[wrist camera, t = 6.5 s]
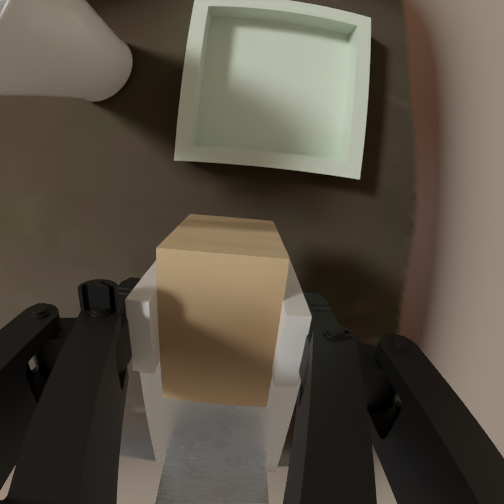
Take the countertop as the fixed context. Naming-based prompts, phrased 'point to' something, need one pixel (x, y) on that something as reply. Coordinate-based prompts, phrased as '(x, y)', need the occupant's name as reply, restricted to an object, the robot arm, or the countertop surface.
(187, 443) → the grey toy cart
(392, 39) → the countertop surface
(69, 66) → the drinking glass
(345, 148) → the tray
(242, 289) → the wooden block
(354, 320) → the countertop surface
